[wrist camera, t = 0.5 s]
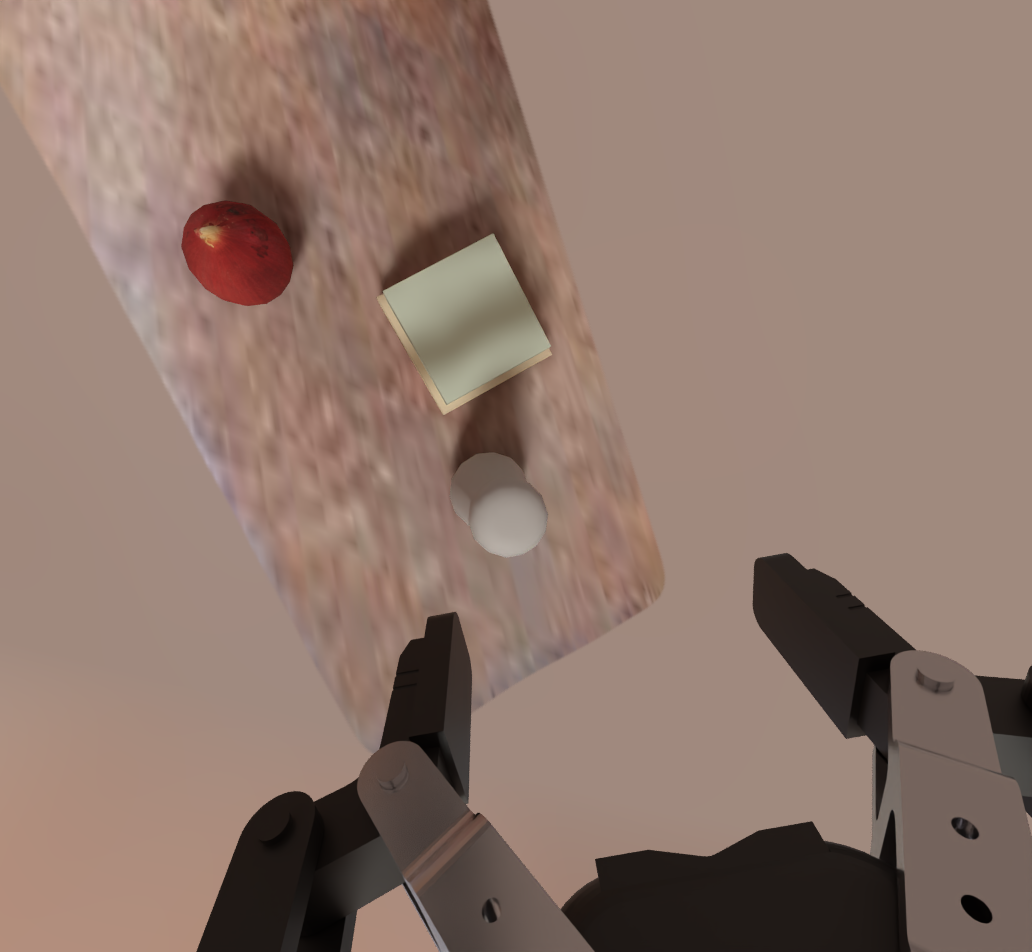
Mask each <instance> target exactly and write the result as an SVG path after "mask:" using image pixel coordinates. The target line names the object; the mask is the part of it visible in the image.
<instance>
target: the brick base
mask: <svg viewBox="0 0 1032 952" xmlns="http://www.w3.org/2000/svg"><path fill="white" fill-rule="evenodd" d="M383 293H384V294H382V295H380V296H378V297H376V298H377V300H378V302H379V304H380V306H381V308H382V310H383V312H384V313H385V315H386V317H387V319H388V320H389V322H390V324H391V326H392V327H393V329H394V331H395V333H396V334H397V336H398V338H399V340H400V341H401V343H402V345H403V346H404V348H405V350H406V352H407V353H408V355H409V357H410V359H411V360H412V362H413V364H414V366H415V367H416V369H417V371H418V373H419V374H420V376H421V378H422V380H423V381H424V383H425V385H426V387H427V388H428V390H429V392H430V393H431V395H432V397H433V399H434V400H435V402H436V404H437V406H438V407H439V409H440V411H441V413H442V414H443V415H445V414H447V413H448V412H450V411H452V410H454V409H456V408H457V407H459V406H461V405H463V404H465V403H466V402H468V401H470V400H472V399H473V398H475V397H477V396H479V395H481V394H482V393H484V392H486V391H488V390H490V389H491V388H493V387H495V386H497V385H499V384H500V383H502V382H504V381H506V380H508V379H509V378H511V377H513V376H515V375H517V374H518V373H520V372H522V371H524V370H526V369H527V368H529V367H531V366H533V365H534V364H536V363H538V362H540V361H542V360H543V359H545V358H547V357H549V356H551V355H552V354H551V352H550V350H549V347H551V345H550V343H549V341H548V339H547V337H546V335H545V333H544V331H543V329H542V327H541V325H540V324H539V322H538V320H537V318H536V316H535V314H534V312H533V310H532V308H531V306H530V304H529V302H528V300H527V298H526V296H525V294H524V292H523V290H522V288H521V286H520V284H519V283H518V281H517V279H516V277H515V275H514V273H513V271H512V269H511V267H510V265H509V263H508V261H507V259H506V257H505V255H504V253H503V251H502V249H501V247H500V245H499V243H498V242H497V240H496V238H495V236H494V234H491V235H489V236H487V237H485V238H483V239H481V240H479V241H477V242H476V243H474V244H472V245H470V246H468V247H466V248H464V249H462V250H460V251H458V252H456V253H455V254H453V255H451V256H449V257H447V258H445V259H443V260H441V261H439V262H437V263H435V264H434V265H432V266H430V267H428V268H426V269H424V270H422V271H420V272H418V273H416V274H414V275H413V276H411V277H409V278H407V279H405V280H403V281H401V282H399V283H397V284H395V285H393V286H392V287H390V288H388V289H386V290H384V291H383Z"/></svg>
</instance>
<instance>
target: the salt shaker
mask: <svg viewBox="0 0 1032 952" xmlns="http://www.w3.org/2000/svg"><path fill="white" fill-rule="evenodd" d="M450 499H451V502H452V504H453V507H454V510H455V513H456V514H457V515H458V516H459V517H460V518H461V519H462V520H463V521H464V522H465V523H467V524H468V525H469V526H470V528H471V531H472V534H473V537H474V539H475V540H476V541H477V542H478V543H479V544H480V545H481V546H482V547H483V548H485V549H486V550H487V551H488V552H490V553H493V554H496V555H499V556H503V557H511V556H518V555H523V554H524V553H526V552H527V551H529V550H531V549H532V548H534V547H535V546H537V544H538V543H539V541H540V539H541V538H542V536H543V535H544V533H545V531H546V525H547V518H548V513H547V510H546V507H545V504H544V501H543V498H542V495H541V494H540V493H539V492H538V491H537V490H536V489H535V488H534V487H533V486H532V485H531V484H530V483H528V482H527V481H526V478H525V475H524V472H523V470H522V469H521V468H520V467H519V466H518V465H517V464H516V463H515V462H514V460H513V459H512V458H510V457H507V456H504V455H501V454H498V453H495V452H491V453H480V454H476V455H474V456H472V457H471V458H469V459H468V460H466V461H465V462H463V463H462V464H461V465H460V466H459V468H458V469H457V471H456V473H455V474H454V476H453V477H452V479H451V489H450Z"/></svg>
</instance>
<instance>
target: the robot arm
mask: <svg viewBox="0 0 1032 952" xmlns="http://www.w3.org/2000/svg"><path fill="white" fill-rule="evenodd" d="M753 610H754V614H755V617H756V620H757V622H758V624H759V626H760V628H761V629H762V631H763V632H764V633H765V634H766V636H767V637H768V638H769V640H770V641H771V642H772V644H773V645H774V646H775V647H776V649H777V650H778V651H779V652H780V654H781V655H782V656H783V658H784V659H785V660H786V661H787V663H788V664H789V666H790V667H791V668H792V669H793V671H794V672H795V673H796V674H797V676H798V677H799V678H800V680H801V681H802V682H803V684H804V685H805V686H806V687H807V689H808V690H809V691H810V693H811V694H812V695H813V697H814V698H815V699H816V700H817V702H818V703H819V704H820V706H821V707H822V708H823V710H824V711H825V712H826V713H827V715H828V716H829V717H830V719H831V720H832V721H833V722H834V724H835V725H836V726H837V727H838V729H839V730H840V732H841V733H842V734H843V735H844V737H845V738H846V739H847V738H853V737H859V736H865V735H867V736H868V737H869V739H870V740H871V741H872V742H873V744H874V749H873V755H872V757H873V758H872V760H873V761H872V762H873V764H872V766H873V767H872V769H873V770H872V773H873V775H872V841H871V851H870V855H869V854H867V853H865V852H863V851H860V850H857V849H854V848H851V847H848V846H845V845H841V844H837V843H833V842H828V841H823V839H822V837H821V835H820V834H819V832H818V830H817V829H816V827H815V826H814V824H813V822H806V823H800V824H794V825H788V826H783V827H777V828H771V829H765V830H760V831H757V832H755V833H754V834H752V835H750V836H748V837H746V838H744V839H742V840H741V841H739V842H737V843H735V844H733V845H731V846H730V847H728V848H726V849H724V850H722V851H720V852H719V853H717V854H715V855H712V856H708V857H706V856H695V855H687V854H679V853H670V852H662V851H654V850H645V851H639V852H633V853H627V854H622V855H616V856H611V857H604V858H598V859H595V861H596V867H597V873H598V878H596V879H595V880H593V881H591V882H589V883H587V884H586V885H585V886H584V887H582V888H581V889H580V890H578V891H577V892H576V893H575V894H574V895H573V896H572V897H571V898H570V899H569V900H568V901H567V902H566V903H565V904H564V906H563V907H562V908H561V910H560V908H559V907H558V906H557V905H556V903H555V902H554V901H553V900H552V899H551V897H550V896H549V895H548V894H547V892H546V891H545V890H544V889H543V887H542V886H541V885H540V884H539V882H538V881H537V880H536V879H535V878H534V877H533V875H532V874H531V873H530V871H529V870H528V869H527V868H526V866H525V865H524V864H523V863H522V862H521V860H520V859H519V858H518V857H517V855H516V854H515V853H514V852H513V850H512V849H511V848H510V847H509V845H508V844H507V843H506V842H505V841H504V839H503V838H502V837H501V836H500V835H499V833H498V832H497V831H496V829H495V828H494V827H493V826H492V825H491V823H490V822H489V821H488V820H487V819H486V818H485V817H484V816H483V815H482V814H480V813H477V814H476V815H475V814H474V813H473V812H472V811H471V810H470V809H469V808H468V807H467V805H466V804H467V803H468V797H469V762H470V728H471V727H470V725H471V694H472V671H471V663H470V657H469V653H468V649H467V646H466V642H465V639H464V635H463V632H462V628H461V624H460V621H459V617H458V615H457V613H456V612H452V613H447V614H441V615H435V616H430V617H428V619H427V624H426V630H425V636H424V638H420V639H414V640H411V641H410V642H409V644H408V645H407V647H406V648H405V649H404V651H403V652H402V654H401V655H400V658H399V662H398V667H397V672H396V677H395V681H394V685H393V691H392V695H391V699H390V704H389V708H388V713H387V718H386V722H385V727H384V732H383V736H382V741H381V745H380V748H379V750H378V751H377V752H375V753H374V754H373V755H372V756H371V757H370V758H369V759H368V761H367V762H366V763H365V765H364V767H363V768H362V770H361V772H360V775H359V777H358V778H357V779H356V780H355V781H353V782H352V783H350V784H348V785H347V786H345V787H343V788H341V789H339V790H337V791H335V792H333V793H331V794H329V795H327V796H325V797H323V798H321V799H319V800H317V801H315V802H313V800H312V798H310V796H309V795H307V794H306V793H303V792H298V791H294V792H288V793H284V794H282V795H279V796H277V797H275V798H274V799H272V800H270V801H269V802H268V803H266V804H265V805H264V806H262V807H261V808H260V809H259V810H258V811H257V812H256V813H255V814H254V815H253V817H252V818H251V819H250V820H249V822H248V823H247V825H246V826H245V828H244V830H243V831H242V834H241V836H240V838H239V841H238V843H237V846H236V849H235V852H234V854H233V857H232V860H231V862H230V864H229V867H228V870H227V873H226V875H225V878H224V880H223V883H222V886H221V888H220V891H219V894H218V897H217V899H216V901H215V904H214V907H213V910H212V912H211V915H210V917H209V920H208V922H207V925H206V928H205V930H204V933H203V936H202V938H201V941H200V944H199V946H198V949H197V952H351V948H352V941H353V934H354V927H355V921H356V914H357V910H358V909H360V908H361V907H363V906H365V905H366V904H368V903H370V902H372V901H373V900H375V899H377V898H378V897H380V896H382V895H384V894H385V893H387V892H389V891H390V890H392V889H394V888H396V887H397V886H399V885H401V884H402V885H403V887H404V889H405V891H406V893H407V895H408V896H409V898H410V900H411V902H412V904H413V905H414V907H415V909H416V911H417V913H418V914H419V916H420V918H421V920H422V921H423V923H424V925H425V927H426V929H427V931H428V932H429V934H430V936H431V938H432V939H433V941H434V943H435V945H436V947H437V949H438V950H439V952H1032V836H1031V832H1030V828H1029V824H1028V820H1027V816H1026V812H1027V813H1028V814H1029V815H1030V816H1031V817H1032V666H1031V667H1030V668H1029V670H1028V673H1027V676H1026V679H1025V680H1022V679H1009V678H998V677H984V676H975V675H974V674H973V673H972V672H970V671H969V670H968V669H967V668H965V667H964V666H962V665H961V664H959V663H957V662H956V661H954V660H951V659H949V658H947V657H945V656H942V655H939V654H935V653H931V652H926V651H917V650H916V649H914V648H913V647H912V646H911V645H910V644H909V643H907V641H905V640H904V639H903V638H902V637H901V636H900V635H899V634H897V633H896V632H895V631H894V630H893V629H892V628H890V627H889V626H888V625H887V624H886V623H885V622H884V621H883V620H881V619H880V618H879V617H878V616H877V615H876V614H875V613H874V612H872V611H871V610H870V609H869V608H868V607H867V608H866V607H865V606H864V604H863V603H862V602H861V601H860V600H859V599H857V598H856V597H855V596H852V594H851V592H850V591H849V590H847V589H846V588H845V587H844V586H843V585H842V584H841V583H839V582H838V581H837V580H836V579H834V578H832V577H830V576H828V575H826V574H824V573H822V572H820V571H818V570H816V569H809V570H807V569H806V568H804V567H803V566H802V565H801V564H800V563H799V562H798V561H797V560H796V559H795V558H794V557H792V556H791V555H790V554H788V553H784V554H778V555H773V556H767V557H762V558H758V559H756V561H755V564H754V584H753Z"/></svg>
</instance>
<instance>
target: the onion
mask: <svg viewBox="0 0 1032 952" xmlns="http://www.w3.org/2000/svg"><path fill="white" fill-rule="evenodd" d="M181 247H182V250H183V253H184V256H185V259H186V262H187V265H188V268H189V270H190V271H191V272H192V273H193V274H194V276H195V277H196V278H197V279H198V280H199V282H200V283H201V284H202V285H203V286H204V288H205V289H207V290H208V291H210V292H211V293H213V294H215V295H216V296H218V297H219V298H221V299H222V300H225V301H229V302H233V303H237V304H241V305H245V306H251V305H259V304H267V303H268V302H270V301H271V300H273V299H275V298H276V297H278V296H280V295H281V294H282V292H283V291H284V289H285V288H286V287H287V285H288V284H289V282H290V279H291V274H292V269H293V261H292V256H291V250H290V246H289V244H288V242H287V240H286V238H285V237H284V235H283V234H282V232H281V230H280V229H279V227H278V226H277V224H276V223H275V222H274V221H272V220H271V219H269V218H268V217H267V216H265V215H264V214H262V213H261V212H260V211H258V210H257V209H255V208H254V207H252V206H251V205H247V204H243V203H236V202H230V201H221V202H216V203H212V204H207V205H203V206H202V207H201V208H199V209H198V210H196V211H195V212H193V213H192V214H191V215H190V217H189V219H188V221H187V223H186V225H185V227H184V231H183V239H182V245H181Z"/></svg>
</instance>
